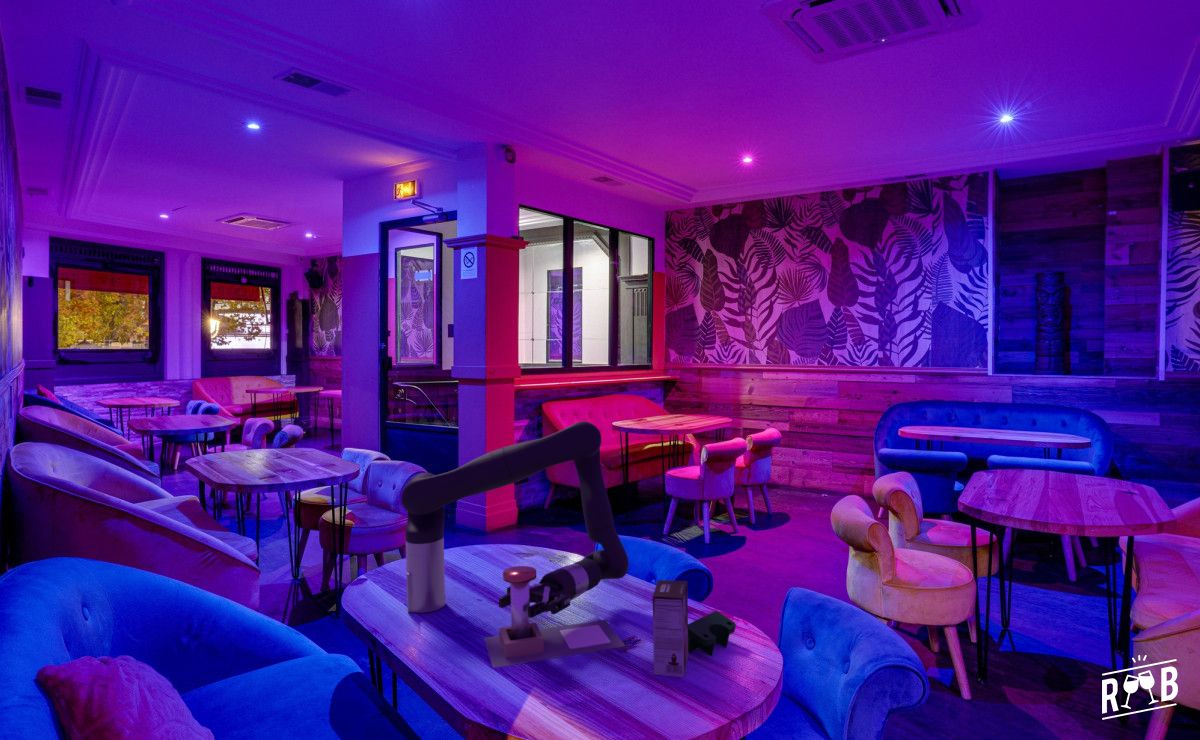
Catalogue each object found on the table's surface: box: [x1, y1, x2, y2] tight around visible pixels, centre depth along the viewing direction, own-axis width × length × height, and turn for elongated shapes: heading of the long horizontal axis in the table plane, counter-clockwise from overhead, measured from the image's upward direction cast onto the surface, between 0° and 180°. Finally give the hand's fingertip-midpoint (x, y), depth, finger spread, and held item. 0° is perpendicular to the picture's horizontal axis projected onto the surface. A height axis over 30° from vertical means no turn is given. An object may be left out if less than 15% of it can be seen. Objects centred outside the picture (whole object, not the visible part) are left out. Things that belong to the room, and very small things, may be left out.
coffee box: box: [652, 579, 689, 678], centre depth 132 cm, size 9×6×16 cm
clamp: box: [688, 610, 737, 657], centre depth 140 cm, size 12×6×9 cm, turn 127°
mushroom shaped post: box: [502, 565, 537, 640], centre depth 138 cm, size 7×7×16 cm
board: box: [483, 619, 627, 669], centre depth 141 cm, size 28×14×4 cm, turn 107°
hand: (514, 608), depth 137 cm, fingers open, 8 cm apart
